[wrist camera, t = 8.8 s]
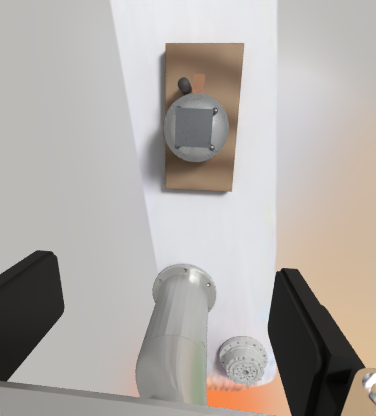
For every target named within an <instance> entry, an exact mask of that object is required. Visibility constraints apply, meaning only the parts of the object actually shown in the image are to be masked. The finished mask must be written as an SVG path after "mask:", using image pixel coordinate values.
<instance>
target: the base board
mask: <svg viewBox="0 0 376 416" xmlns="http://www.w3.org/2000/svg"><path fill="white" fill-rule="evenodd" d="M243 53H244V43H166V114H167V112H168V110H169V108H170V107H171V105H172V104H173V103H174V102H175V101H176V100H178V99H179V98H181V97H182V96H185V95H187V94H192V91H193V74H205V87H204V94H206V95H209V96H211V97H213V98H214V99H216V100H217V101H218V102H219V103H220V104H221V105H222V107H223V108H224V110H225V112H226V114H227V117H228V121H229V133H228V137H227V140H226V143H225V145H224V146H223V148H222V149H221V151H220V152H219V153H218V154H217V155H215V156H214V157H212V158H211V159H208V160H206V161H202V162H189V161H186V160H183V159H181V158H180V157H178V156H177V155H175V154H174V153H173V152H172V151H171V149H170V148H169V146H168V145H167V142H166V188H170V189H191V190H211V191H232V182H233V170H234V158H235V147H236V135H237V123H238V111H239V100H240V88H241V76H242V64H243Z"/></svg>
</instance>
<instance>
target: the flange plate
mask: <svg viewBox="0 0 376 416" xmlns="http://www.w3.org/2000/svg"><path fill="white" fill-rule="evenodd" d="M204 87H205V74H193V91H192V94H187V95H185V96H182V97H181V98H179V99H178V100H176V101H175V102H174V103H173V104H172V105H171V107H170V108H169V110H168V112H167V114H166V116H165V120H164V136H165V140H166V142H167V145H168V146H169V148H170V149H171V151H172V152H173V153H174V154H175V155H177V156H178V157H180V158H181V159H183V160H186V161H189V162H202V161H206V160H208V159H211V158H212V157H214V156H215V155H217V154H218V153H219V152H220V151H221V149H222V148H223V146H224V145H225V143H226V140H227V137H228V133H229V121H228V117H227V114H226V112H225V110H224V108H223V107H222V105H221V104H220V103H219V102H218V101H217V100H216V99H214V98H213V97H211V96H209V95H206V94H204Z"/></svg>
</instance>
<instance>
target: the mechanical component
mask: <svg viewBox="0 0 376 416" xmlns="http://www.w3.org/2000/svg"><path fill="white" fill-rule="evenodd" d="M219 357H220V363H221V365H222V367H223V368H224V369H225V370H226V372H227V375H228V377H229V378H230V379H232V380H233V381H234V382H235V383H236V384H237V383H240V384H243V385H244V386H246V384H248V385H251V384H255V382H257V381H258V380H261V377H262V376H263V374H264V368H265V366H266V364H267V354H266V351H265V348H264V347H263V345H262V344H261V343H260V342H259V341H257V340H255V339H253V338H250V337H243V336H240V337H234V338H231V339H229V340H227V341H226V342H225V343H224V344H223V345H222V346H221V348H220V352H219Z"/></svg>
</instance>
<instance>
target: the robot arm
mask: <svg viewBox="0 0 376 416" xmlns="http://www.w3.org/2000/svg"><path fill="white" fill-rule="evenodd" d="M184 268H185V269H184ZM153 298H154V300H155V303H156V305H155V307H154V310H153V314H152V316H151V319H150V323H149V326H148V329H147V332H146V335H145V338H144V341H143V344H142V347H141V350H140V353H139V356H138V360H137V364H136V383H137V388H138V392H139V395H140V398H139V397H132V396H123V395H115V394H106V393H99V392H90V391H82V390H74V389H65V388H57V387H48V386H40V385H32V384H23V383H14V382H7V380H8V379H9V378H10V377H11V376H12V374H13V373H14V372H15V371H16V370H17V368H18V367H19V366H20V365H21V364H22V362H23V361H24V360H25V359H26V358H27V356H28V355H29V354H30V353H31V352H32V350H33V349H34V348H35V347H36V346H37V344H38V343H39V342H40V341H41V339H42V338H43V337H44V336H45V335H46V334H47V332H48V331H49V330H50V329H51V328H52V326H53V325H54V324H55V323H56V322H57V320H58V319H59V318H60V317H61V315H62V314H63V312H64V300H63V294H62V287H61V280H60V273H59V267H58V261H57V256H56V255H54V253H53V252H51V251H40V250H39V251H38V250H37V251H35V252H34V253H32V254H30V255H29V256H28V257H26V258H24V259H23V260H21V261H20V262H18V263H17V264H15V265H14V266H12V267H11V268H9V269H8V270H6V271H5V272H3V273H2V274H0V416H273V415H266V414H260V413H253V412H246V411H239V410H233V409H226V408H218V407H210V406H207V397H206V372H207V322H208V312H210V310H211V309H212V308H213V306H214V304H215V300H216V289H215V285H214V283H213V281H212V279H211V278H210V276H209V275H208V274H207V273H205V272H204V271H203V270H201V269H199V268H197V267H195V266H191V265H185V264H180V265H174V266H170V267H168V268H166V269H165V270H163V271H162V272H161V273H160V274H159V275H158V276H157V278H156V280H155V283H154V286H153ZM268 335H269V339H270V342H271V346H272V349H273V353H274V356H275V359H276V363H277V366H278V370H279V373H280V377H281V380H282V384H283V387H284V390H285V394H286V398H287V401H288V405H289V408H290V412H291V415H292V416H376V369H374V368H365V366H364V364H363V363H362V361H361V360H360V358H359V357H358V355H357V354H356V353H355V351H354V349H353V348H352V346H351V345H350V344H349V342H348V340H347V339H346V337H345V336H344V335H343V333H342V332H341V330H340V328H339V327H338V326H337V324H336V322H335V321H334V320H333V318H332V316H331V315H330V313H329V312H328V310H327V309H326V308H325V307H324V306H323V305H321V304H320V303H319V301H318V300H317V298H316V297H315V295H314V293H313V292H312V291H311V289H310V288H309V286H308V284H307V283H306V281H305V280H304V278H303V277H302V275H301V274H300V272H299V270H298V269H288V268H282V269H281V271H277V272H276V276H275V282H274V289H273V295H272V301H271V308H270V314H269V321H268Z"/></svg>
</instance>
